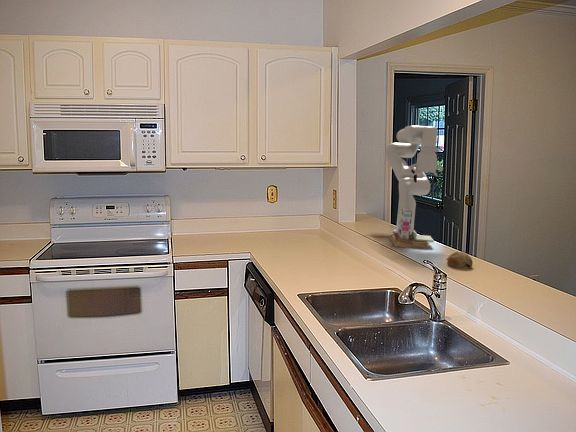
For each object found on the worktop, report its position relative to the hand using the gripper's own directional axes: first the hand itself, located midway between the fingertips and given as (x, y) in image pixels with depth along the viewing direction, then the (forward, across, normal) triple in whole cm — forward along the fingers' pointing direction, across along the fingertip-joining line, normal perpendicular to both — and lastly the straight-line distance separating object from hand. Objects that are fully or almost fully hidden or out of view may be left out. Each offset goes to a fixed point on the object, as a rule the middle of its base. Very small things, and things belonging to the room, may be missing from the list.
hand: (424, 183), depth 286 cm
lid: (+27, +1, +17) cm, 32 cm away
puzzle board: (+30, +7, +17) cm, 35 cm away
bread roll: (+31, -10, +60) cm, 68 cm away
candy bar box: (+29, +10, +17) cm, 35 cm away
